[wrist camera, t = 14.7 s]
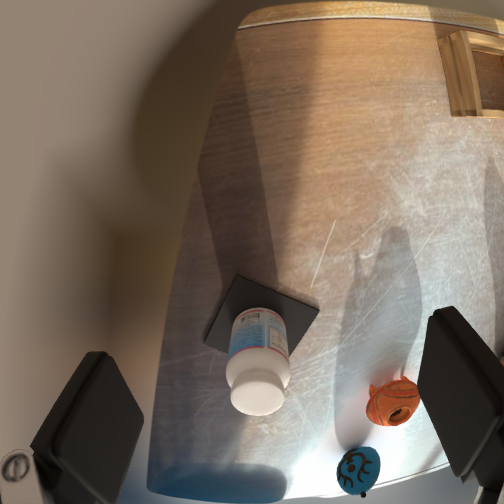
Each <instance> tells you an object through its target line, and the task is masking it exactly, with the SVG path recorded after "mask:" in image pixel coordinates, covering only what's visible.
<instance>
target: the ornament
mask: <svg viewBox="0 0 504 504" xmlns="http://www.w3.org/2000/svg"><path fill="white" fill-rule="evenodd" d="M379 472H380V457H379V455H378V453H377V451H376V450H375V449H373V448H371V447H359V448H356V449H352V450H350V451H348V452H347V453H346V454H345V455H344V456H343V458H342V459H341V461H340V462H339V464H338V467H337V481H338V483H339V485H340V487H341V488H342V489H343V490H344V491H345V492H346V493H348V494H351V495H361V497H362V498H365V497H366V492H367V491H368V490H370V489H371V488H372V487H373V485H374V484H375V482H376V481H377V478H378V476H379Z"/></svg>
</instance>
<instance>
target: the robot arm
mask: <svg viewBox="0 0 504 504" xmlns="http://www.w3.org/2000/svg"><path fill="white" fill-rule="evenodd" d="M417 389H418V393H419V395H420V397H421V399H422V402H423V404H424V406H425V408H426V410H427V412H428V415H429V417H430V419H431V421H432V423H433V426H434V428H435V430H436V432H437V435H438V437H439V439H440V442H441V444H442V446H443V449H444V451H445V453H446V456H447V458H448V461H449V463H450V466H451V468H452V471H453V473H454V475H455V476H456V477H459V476H460V477H461V480H462V483H466V482H468V481H470V480H472V479H475V478H477V480H478V482H479V485H480V488H479V490H478V493H477V495H476V498H475V501H474V503H473V504H504V366H503V365H502V364H501V362H500V361H499V360H498V358H497V357H496V356H495V355H494V353H493V352H492V351H491V350H490V348H489V347H488V346H487V345H486V343H485V342H484V341H483V340H482V338H481V337H480V336H479V335H478V334H477V332H476V331H475V330H474V329H473V328H472V326H471V325H470V324H469V323H468V322H467V321H466V319H465V318H464V317H463V316H462V315H461V314H460V312H459V311H458V310H457V309H456V308H455V307H454V306H449V307H445V308H441V309H437V310H435V311H434V312H433V316H430V317H429V319H428V324H427V331H426V338H425V344H424V350H423V355H422V361H421V366H420V371H419V376H418V381H417ZM143 423H144V416H143V413H142V411H141V410H140V408H139V406H138V404H137V402H136V401H135V399H134V397H133V395H132V393H131V391H130V390H129V388H128V386H127V384H126V382H125V380H124V378H123V376H122V374H121V373H120V371H119V369H118V367H117V365H116V363H115V361H114V359H113V358H112V357H111V356H109V355H108V354H107V353H106V352H104V351H100V352H99V351H98V352H88V353H87V354H86V355H85V357H84V358H83V360H82V361H81V363H80V364H79V366H78V367H77V369H76V371H75V372H74V374H73V375H72V377H71V378H70V380H69V381H68V383H67V385H66V386H65V388H64V389H63V391H62V393H61V394H60V396H59V397H58V399H57V401H56V402H55V404H54V405H53V407H52V409H51V410H50V412H49V414H48V416H47V417H46V419H45V420H44V422H43V424H42V426H41V427H40V429H39V431H38V432H37V434H36V436H35V438H34V440H33V441H32V443H31V445H30V447H31V448H32V449H33V451H34V454H33V455H31V454H30V452H28V451H27V450H24V449H16V450H13V451H11V452H9V453H7V454H6V455H5V456H4V457H3V459H2V460H1V462H0V504H117V502H118V499H119V496H120V493H121V490H122V487H123V483H124V480H125V477H126V474H127V471H128V468H129V465H130V462H131V459H132V456H133V453H134V450H135V447H136V444H137V441H138V438H139V435H140V432H141V430H142V426H143Z"/></svg>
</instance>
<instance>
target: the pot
mask: <svg viewBox="0 0 504 504" xmlns="http://www.w3.org/2000/svg"><path fill="white" fill-rule="evenodd" d="M400 378H401V380H396V381H391V382H389V383H386V384H384V385H383V386H381V387H380V388H379V389H376V388H375V387H373V385H370V387H369V395H370V399H369V401H368V404H367V407H366V414H367V417H368V418H369V419H370V420H371V421H372V422H373V423H375V424H378V425H382V426H397V425H399V424H402V423H404V422H406V421H407V420H408V419H409V418H410V417H411V416H412V414H413V413H414V412H415V410H416V409H417V407H418V405H419V402H420V398H421V397H420V395H419V393H418V389H417V385H416V384H415V383H414V382H412V381H410V380H409V379H408V378H407V377H405V376H402V377H400Z"/></svg>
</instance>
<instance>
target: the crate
mask: <svg viewBox="0 0 504 504" xmlns="http://www.w3.org/2000/svg"><path fill="white" fill-rule="evenodd" d="M437 41H438V45H439V49H440V53H441V58H442V62H443V67H444V72H445V77H446V82H447V88H448V94H449V100H450V107H451V114H452V117H482V118H503V119H504V110H491V109H482V104H481V97H480V91H479V85H478V79H477V74H476V69H475V64H474V60H473V55H472V51H479V52H485V53H490V54H496V55H501V58H502V63H503V68H504V39H503V38H499V37H494V36H490V35H485V34H481V33H476V32H470V31H465V30H459V31H457V32H454V33H452V34H450V36H445V37H443V38H441V39H438V40H437ZM471 50H472V51H471Z"/></svg>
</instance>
